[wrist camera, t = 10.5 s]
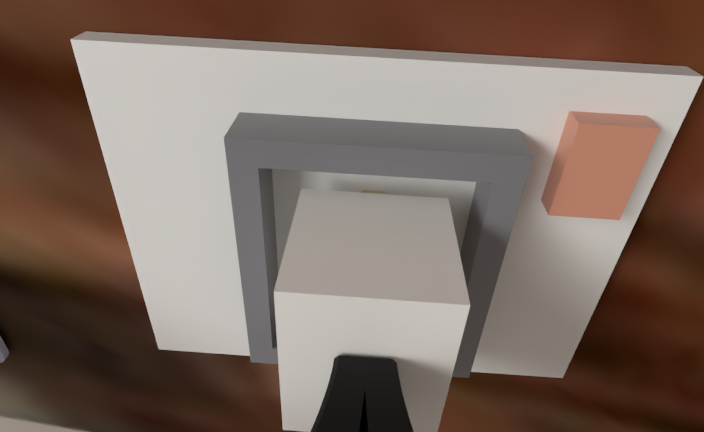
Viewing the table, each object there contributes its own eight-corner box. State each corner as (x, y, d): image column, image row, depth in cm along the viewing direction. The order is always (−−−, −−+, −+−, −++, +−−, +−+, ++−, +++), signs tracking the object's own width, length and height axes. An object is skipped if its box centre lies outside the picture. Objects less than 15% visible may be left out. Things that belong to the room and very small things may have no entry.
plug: (307, 291, 17) (282, 429, 13) (306, 167, 14) (273, 291, 10) (421, 299, 17) (434, 441, 13) (443, 176, 14) (470, 305, 10)
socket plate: (165, 333, 20) (141, 383, 18) (86, 31, 13) (32, 58, 11) (556, 361, 19) (575, 415, 18) (686, 66, 13) (743, 100, 11)
